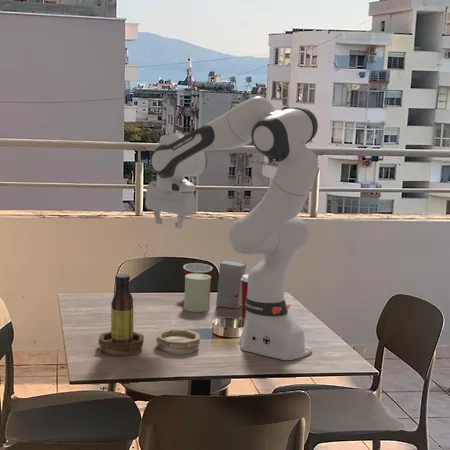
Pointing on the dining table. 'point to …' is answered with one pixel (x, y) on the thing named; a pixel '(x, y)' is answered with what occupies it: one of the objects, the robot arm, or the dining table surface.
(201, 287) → the can
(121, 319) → the sauce bottle
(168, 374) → the dining table surface
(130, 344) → the walnut ring seat
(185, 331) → the birch ring seat
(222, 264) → the skincare box
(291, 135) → the robot arm
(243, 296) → the paper cup
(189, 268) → the plastic cup
